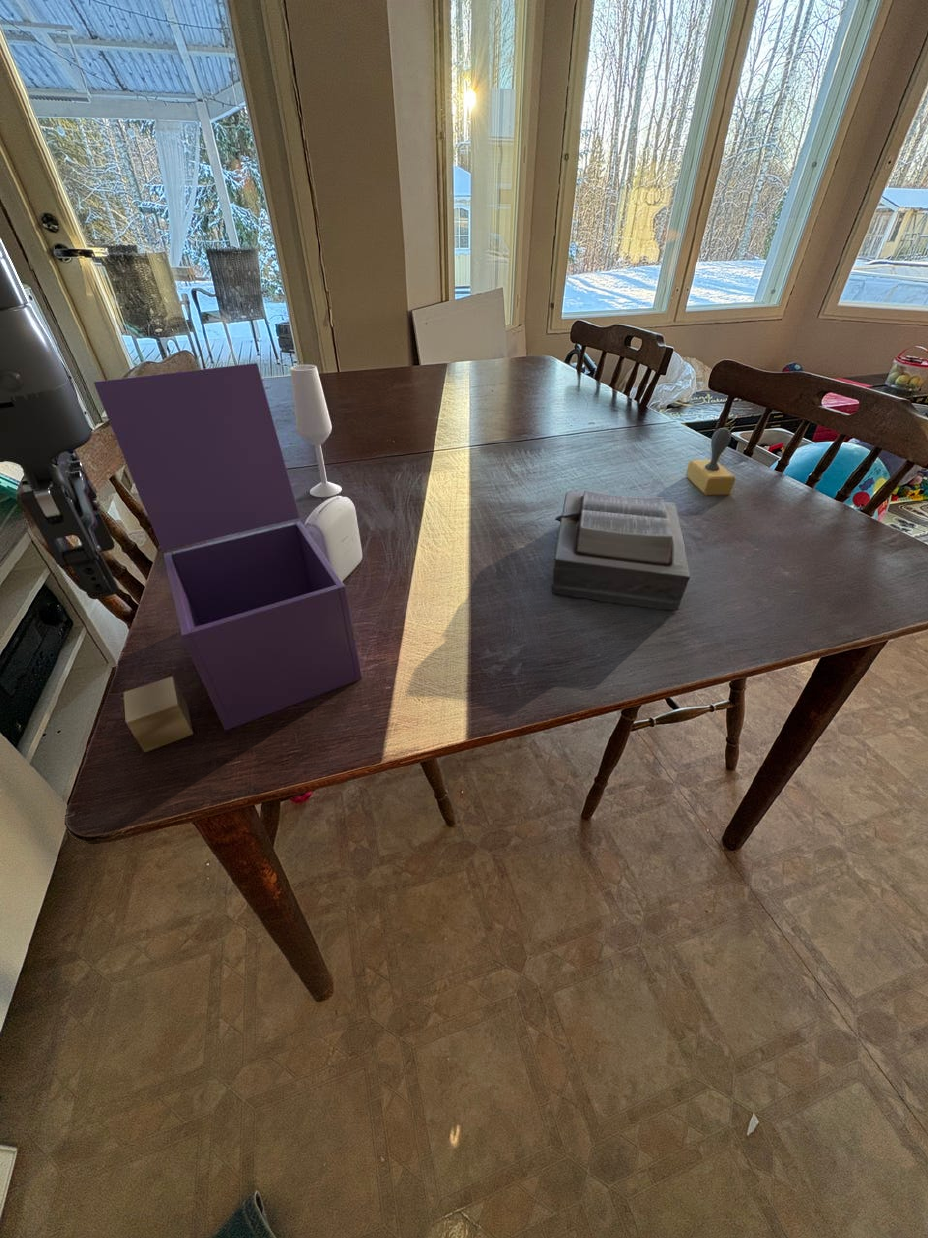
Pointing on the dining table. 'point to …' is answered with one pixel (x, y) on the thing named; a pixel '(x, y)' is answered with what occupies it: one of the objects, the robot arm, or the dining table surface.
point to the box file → (263, 621)
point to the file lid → (201, 451)
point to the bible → (620, 551)
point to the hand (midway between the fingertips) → (104, 571)
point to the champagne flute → (312, 419)
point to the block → (157, 714)
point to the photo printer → (336, 534)
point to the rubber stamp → (713, 468)
